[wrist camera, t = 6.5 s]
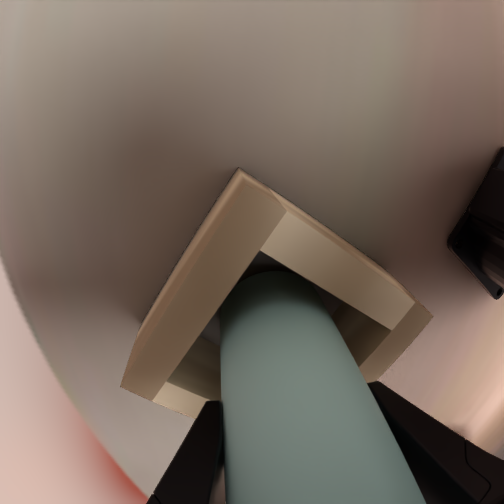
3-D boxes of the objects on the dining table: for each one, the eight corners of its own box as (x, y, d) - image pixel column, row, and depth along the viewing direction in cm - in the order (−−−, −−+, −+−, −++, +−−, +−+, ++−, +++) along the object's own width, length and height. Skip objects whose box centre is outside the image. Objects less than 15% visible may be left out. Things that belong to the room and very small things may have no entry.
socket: (386, 271, 14) (433, 316, 10) (283, 390, 16) (298, 450, 12) (238, 167, 12) (246, 184, 8) (140, 325, 14) (120, 386, 10)
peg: (341, 301, 12) (475, 531, 3) (282, 369, 13) (338, 593, 4) (258, 251, 11) (351, 569, 2) (201, 332, 12) (194, 602, 3)
